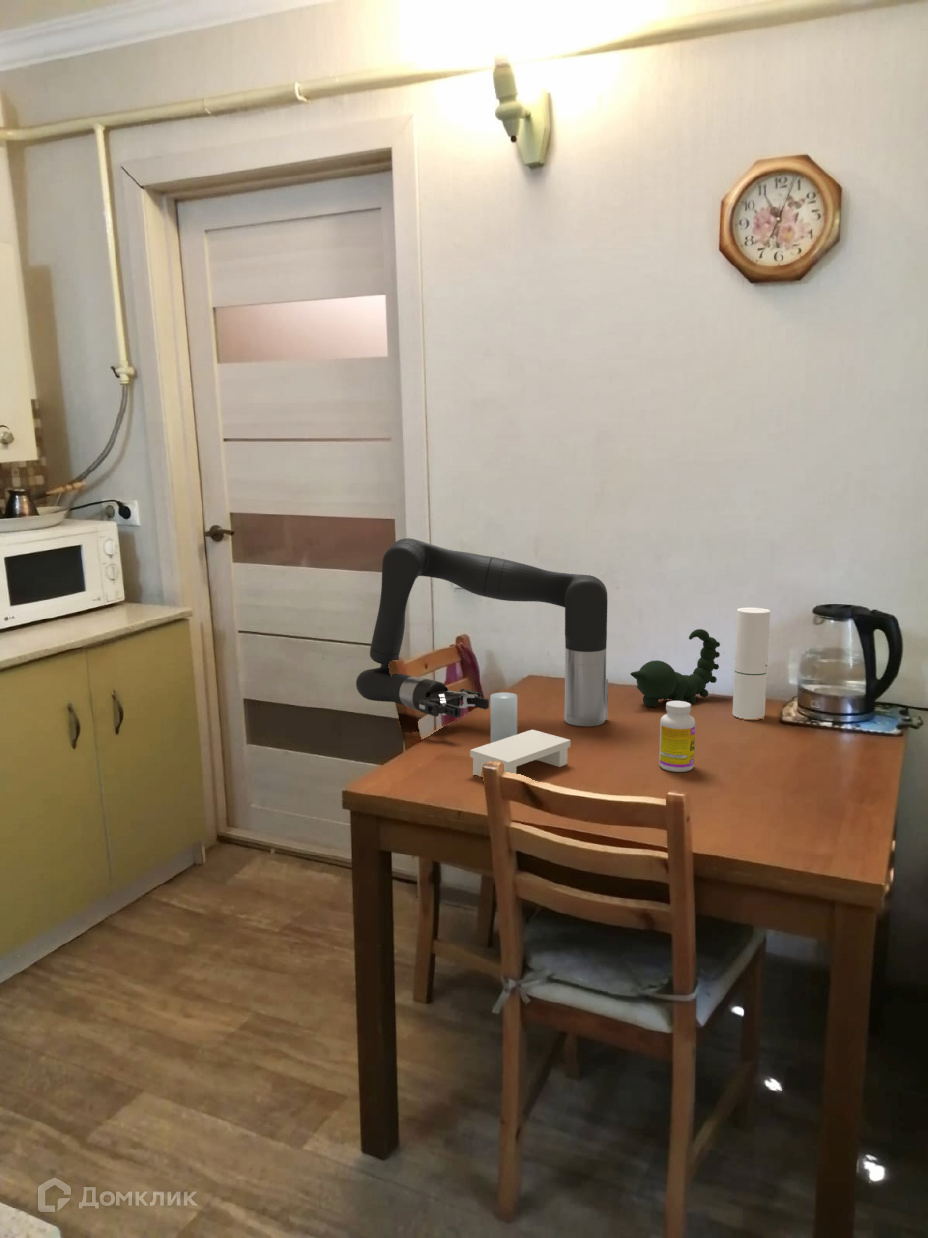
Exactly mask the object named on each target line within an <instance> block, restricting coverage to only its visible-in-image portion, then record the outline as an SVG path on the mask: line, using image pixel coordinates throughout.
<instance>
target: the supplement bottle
mask: <svg viewBox="0 0 928 1238" xmlns="http://www.w3.org/2000/svg"><path fill="white" fill-rule="evenodd" d="M665 710H666V713H665V714H664V715H662V716H661V718H660V720H659V721H660V722H659V723H660V729H659V756H658V757H659V759H658V761H659V762H658V763H659V767H660V768H661V769H663V770H666V771H668V772H673V773H674V772H675V773H685V772H688V771H691V770H692V769H693V768H694V765H695V745H696V744H695V742H696V720H695V718H694V717H693V716H691V715H690V712H691V711H692V703H689V702H688V701H685V700H683V701H672V700H670V701H667V702H666V704H665Z"/></svg>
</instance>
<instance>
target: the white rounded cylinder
mask: <svg viewBox="0 0 928 1238" xmlns="http://www.w3.org/2000/svg"><path fill="white" fill-rule="evenodd" d="M489 698H490V700H489V708H490V712H489V713H490V715H489V716H490V743H493V742H496V741H499V740H502V739H505V738H508V737H511V736H514V735H517V734H518V695H517V694H515V693H512V692H506V691H505V692H495V693H491V694H490V697H489Z"/></svg>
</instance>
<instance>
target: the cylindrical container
mask: <svg viewBox="0 0 928 1238" xmlns="http://www.w3.org/2000/svg"><path fill="white" fill-rule="evenodd" d="M770 620H771V610H770V609H767V608H761V607H740V608H739V607H738V608H737V610H736V629H735V631H736V632H735V646H734V648H735V649H734V670H733V671H734V672H733V674H734V675H733V693H732V694H733V695H732V712H731V713H732V714H733V715H734V716H736V717H739V718H744V719H757V718H762V717H764V716H765V715H766V697H767V679H768V678H767V677H768V676H767V675H768V660H769V659H768V658H769V657H768V656H769V638H770V636H769V635H770ZM732 714H731V715H732ZM765 717H766V716H765Z"/></svg>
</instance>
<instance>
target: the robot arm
mask: <svg viewBox="0 0 928 1238" xmlns="http://www.w3.org/2000/svg"><path fill="white" fill-rule="evenodd" d="M381 563H382V565H381V591H380V600H379V607H378V611H377V617H376V620H375V621H376V622H375V625H374V630H373V635H372V638H371V644H370V650H369V658H371V660H372V661H374V662H375V663H376V664H379V665H380V667H375V668H370V669H366V670H363V671H361V672H360V673H359V675H358V676H357V678H356V680H355V685H356V686H355V687H356V690H357V692H358V694H359V695H360V696H361V697H362V698H364V699H366V700H369V701H375V702H386V703H387V702H389V703H390V702H391V703H396V704H397V705H402V706H404V707H407V708H409V709H412V710H414V711H418V712H419V713H423V714H427V715H430V716H432V717H439V716H440V715H441V716H451V717H454V718H460V717H461V716H462V709H466V708H468V707H475V708H477V709H478V708H479V709H482V710H487V709H489V708H490V700H489V699H488V698H485V697H482V692H479V691H476V690H475V691H474V690H471V689H466V688H460V690H459V691H455V690H449V689H448V687H447V685H446V684H445V683H443V682H441V681H437V680H433V679H429V678H425V677H421V676H412V675H409V674H404V673H400V674H394V675H392V677H391V675H390V673H389V668H388V664H389V662H390V661H392V660H399V661H400V653H401V650H402V646H403V645H402V644H403V639H404V635H405V628H406V627H405V625H406V610H407V604H408V600H409V597H410V594H411V592H412V589H413V586H414V584H415V582H416V580H417V578H418V577H426V578H427V577H428V578H434V579H439V580H444V581H447V582H450V583H452V584H454V585H456V586H458V587H459V588H461V589H464V590H465V591H467V592H469V593H471V594H474V595H478V596H480V597H485V598H489V599H494V600H500V601H505V602H506V601H508V602H537V603H538V602H540V603H546V604H551V605H555V606H558V607H562V608H564V640H565V641H564V643H565V644H564V645H565V646H564V649H565V651H564V660H565V661H564V722H565V723H567V724H568V725H571V726H577V727H597V726H601V725H602V724H604V723H606V720H608V712H609V711H608V709H609V708H608V705H609V704H608V702H609V700H608V699H609V679H608V678H607V647H608V646H607V643H608V642H607V639H608V637H607V636H608V589H607V588H606V585H605V583H603V581H602V580H600V579H599V578H598V577H596V576H593V575H590V574H577V573H566V572H557V571H551V570H546V569H542V568H539V567H536V566H533V565H529V564H525V563H521V562H517V561H515V560H514V561H513V560H509V559H506V558H500V557H495V556H489V555H482V554H477V553H471V552H465V551H458V550H454V549H453V550H452V549H448V548H444V547H440V546H437V545H434V544H432V543H427V542H424V541H421V540H418V539H414V538H410V537H409V538H401V539H399V540H396V541H395V542H394V543H393V544H392V545H391V546H390V547H389V548H387V550H386V551H385V552H384V555H383V557H382V562H381ZM461 701H462V702H463V704H461Z"/></svg>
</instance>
